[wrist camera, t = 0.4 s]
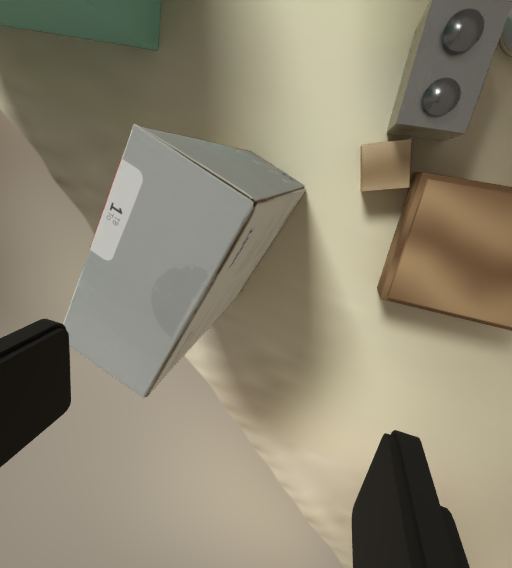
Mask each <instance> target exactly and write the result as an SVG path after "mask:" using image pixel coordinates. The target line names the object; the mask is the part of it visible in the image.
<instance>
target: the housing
mask: <svg viewBox="0 0 512 568" xmlns="http://www.w3.org/2000/svg"><path fill="white" fill-rule="evenodd" d="M511 6H512V1H502V0H431V1H430V3H429V5H428V7H427V9H426V11H425V13H424V15H423V17H422V19H421V21H420V23H419V25H418V27H417V29H416V31H415V34H414V38H413V41H412V45H411V48H410V52H409V55H408V59H407V62H406V66H405V69H404V73H403V76H402V80H401V83H400V87H399V90H398V94H397V97H396V101H395V105H394V108H393V112H392V115H391V119H390V122H389V126H388V129H387V133H392V134H398V135H405V136H411V137H418V138H424V139H431V140H438V141H445V140H448V139H450V138H453V137H456V136H459V135H462V134H465V132H466V130H467V127H468V124H469V121H470V119H471V116H472V113H473V110H474V108H475V105H476V102H477V99H478V97H479V94H480V91H481V88H482V86H483V83H484V80H485V77H486V75H487V72H488V69H489V66H490V64H491V61H492V58H493V55H494V53H495V50H496V47H497V44H498V42H499V39H500V36H501V33H502V31H503V28H504V25H505V22H506V20H507V17H508V14H509V11H510V9H511Z"/></svg>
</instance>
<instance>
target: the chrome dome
mask: <svg viewBox="0 0 512 568" xmlns="http://www.w3.org/2000/svg"><path fill="white" fill-rule="evenodd" d="M499 44H500V46H501V48H502V50H503V51H504V52H505V53H506V54H507V55H508V56H510V57H512V7H511V9H510V11H509V14H508V17H507V20H506V22H505V25H504V28H503V31H502V33H501V36H500V39H499Z"/></svg>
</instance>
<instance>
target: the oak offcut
mask: <svg viewBox="0 0 512 568" xmlns="http://www.w3.org/2000/svg"><path fill="white" fill-rule="evenodd" d="M410 159H411V139H406V140H398V141H390V142H381V143H373V144H365V145H362V146H361V191H372V190H384V189H396V188H408V187H409V181H410Z"/></svg>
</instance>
